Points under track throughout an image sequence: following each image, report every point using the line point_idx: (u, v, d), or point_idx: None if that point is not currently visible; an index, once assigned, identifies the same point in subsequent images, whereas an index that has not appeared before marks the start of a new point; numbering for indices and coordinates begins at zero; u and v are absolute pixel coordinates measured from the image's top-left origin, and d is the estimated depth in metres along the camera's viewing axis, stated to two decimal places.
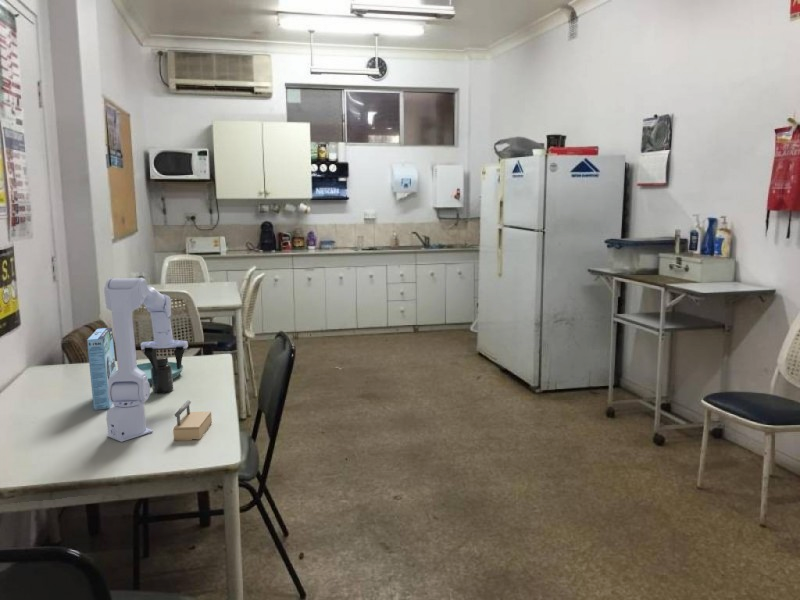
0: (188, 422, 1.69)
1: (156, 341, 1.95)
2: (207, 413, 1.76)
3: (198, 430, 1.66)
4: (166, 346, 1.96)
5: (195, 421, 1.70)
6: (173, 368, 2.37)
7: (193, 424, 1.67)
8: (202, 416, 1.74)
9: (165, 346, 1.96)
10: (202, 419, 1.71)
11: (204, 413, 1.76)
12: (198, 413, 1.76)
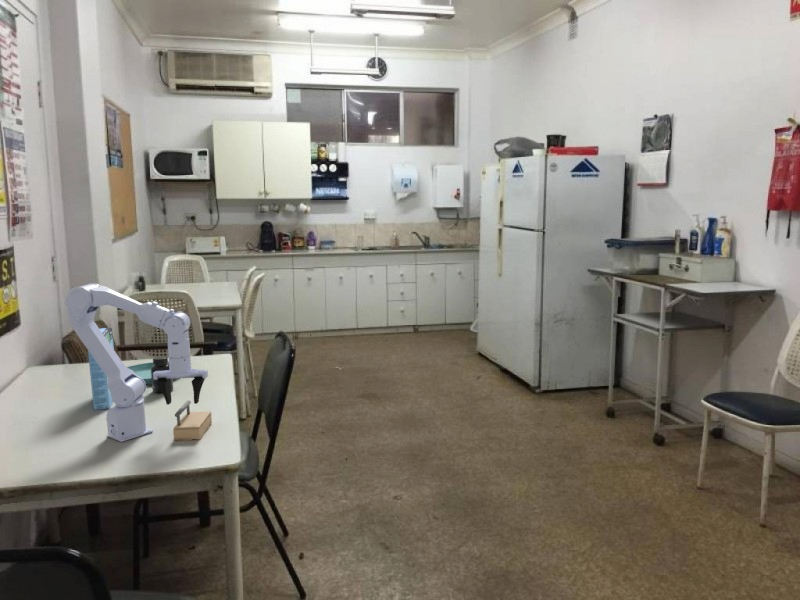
0: (188, 422, 1.69)
1: (172, 369, 1.67)
2: (207, 413, 1.76)
3: (198, 430, 1.66)
4: (183, 375, 1.67)
5: (195, 421, 1.70)
6: None
7: (193, 424, 1.67)
8: (202, 416, 1.74)
9: (182, 374, 1.67)
10: (202, 419, 1.71)
11: (204, 413, 1.76)
12: (198, 413, 1.76)
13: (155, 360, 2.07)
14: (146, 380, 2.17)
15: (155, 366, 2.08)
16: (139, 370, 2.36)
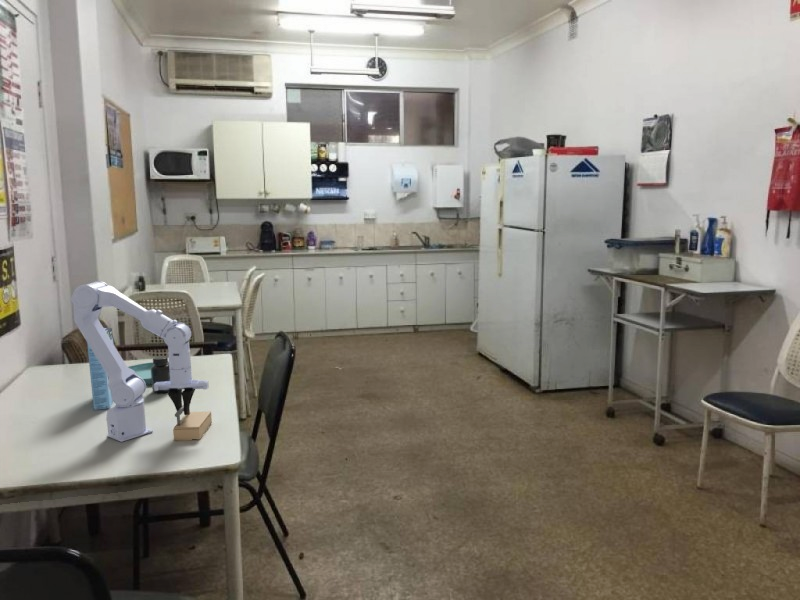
0: (188, 422, 1.69)
1: (172, 380, 1.67)
2: (207, 413, 1.76)
3: (198, 430, 1.66)
4: (184, 386, 1.67)
5: (195, 421, 1.70)
6: None
7: (193, 424, 1.67)
8: (202, 416, 1.74)
9: (182, 386, 1.67)
10: (202, 419, 1.71)
11: (204, 413, 1.76)
12: (198, 413, 1.76)
13: (155, 360, 2.07)
14: (146, 380, 2.17)
15: (155, 366, 2.08)
16: (139, 370, 2.36)
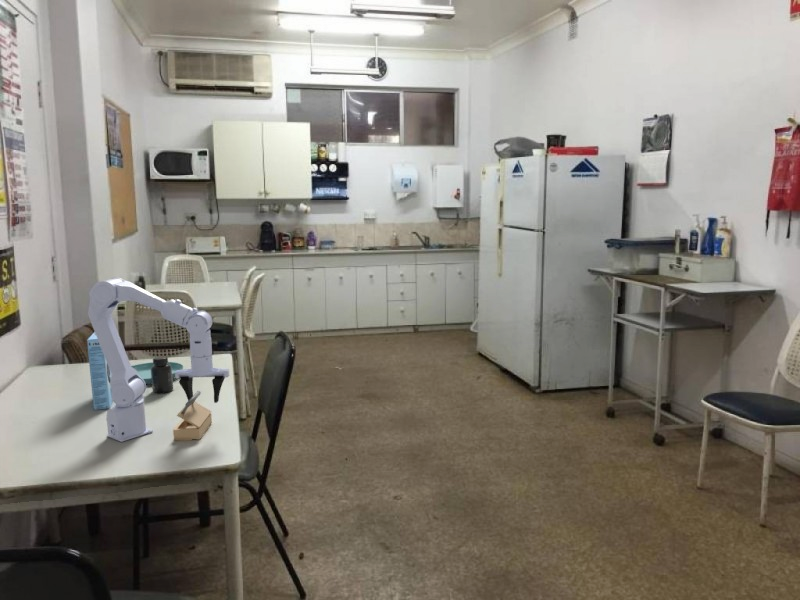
0: (190, 414, 1.69)
1: (194, 367, 1.67)
2: (208, 412, 1.76)
3: (198, 430, 1.66)
4: (205, 374, 1.67)
5: (197, 417, 1.70)
6: (173, 368, 2.37)
7: (195, 420, 1.67)
8: (203, 414, 1.74)
9: (204, 373, 1.67)
10: (203, 418, 1.71)
11: (205, 410, 1.76)
12: (200, 407, 1.76)
13: (155, 360, 2.07)
14: (146, 380, 2.17)
15: (155, 366, 2.08)
16: (139, 370, 2.36)
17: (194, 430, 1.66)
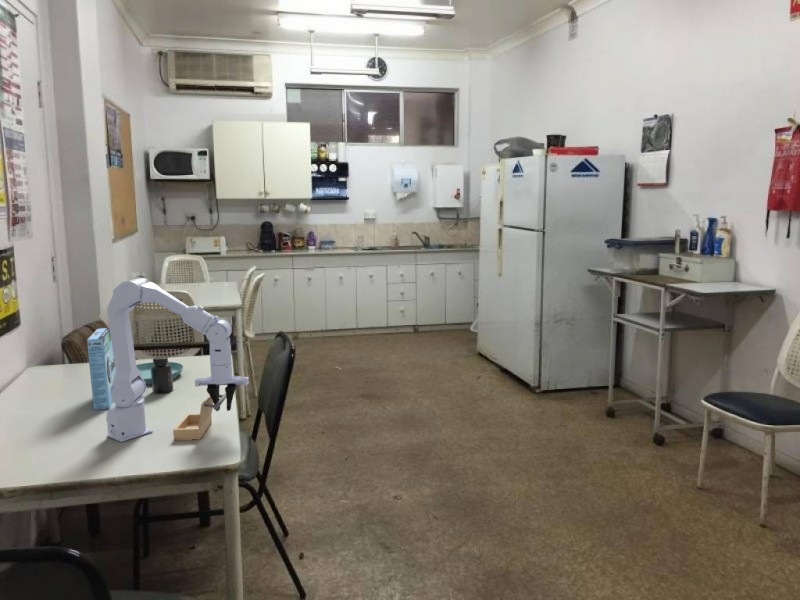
0: (205, 408, 1.69)
1: (214, 376, 1.68)
2: (210, 412, 1.76)
3: (198, 430, 1.66)
4: (225, 382, 1.68)
5: (205, 414, 1.70)
6: (173, 368, 2.37)
7: (203, 418, 1.67)
8: (208, 412, 1.74)
9: (224, 382, 1.68)
10: (206, 418, 1.71)
11: (211, 409, 1.76)
12: (212, 403, 1.76)
13: (155, 360, 2.07)
14: (146, 380, 2.17)
15: (155, 366, 2.08)
16: None
17: (194, 430, 1.66)
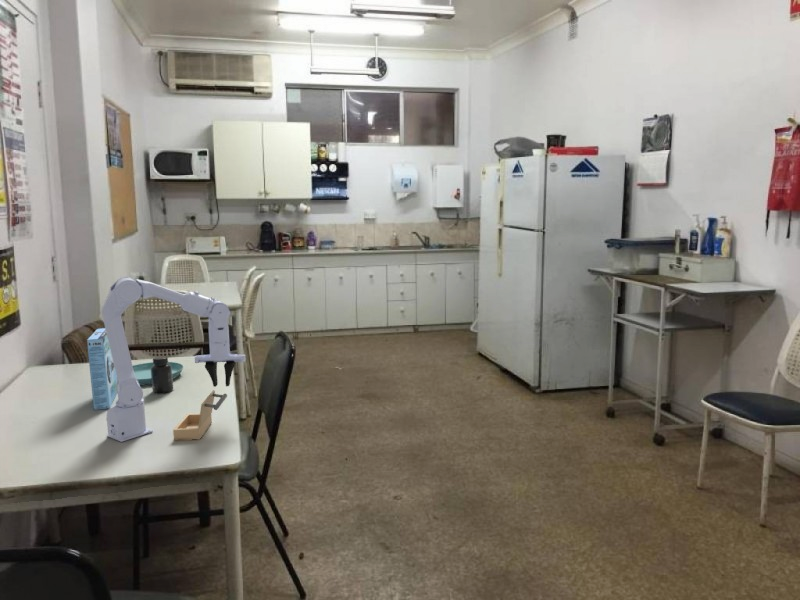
0: (206, 408, 1.69)
1: (212, 353, 1.78)
2: (210, 412, 1.76)
3: (198, 430, 1.66)
4: (223, 358, 1.78)
5: (205, 414, 1.70)
6: (173, 368, 2.37)
7: (203, 418, 1.67)
8: (208, 412, 1.74)
9: (222, 358, 1.78)
10: (206, 418, 1.71)
11: (211, 409, 1.76)
12: (212, 403, 1.76)
13: (155, 360, 2.07)
14: (146, 380, 2.17)
15: (155, 366, 2.08)
16: (139, 370, 2.36)
17: (194, 430, 1.66)
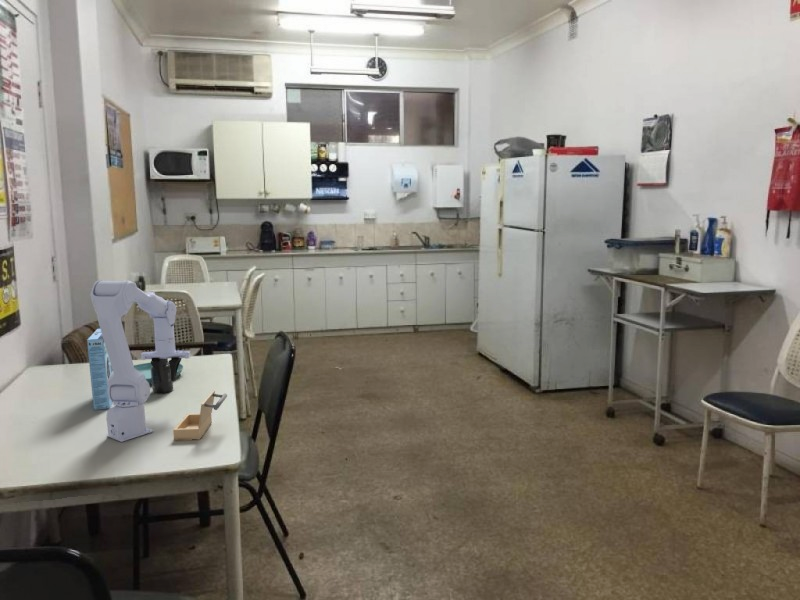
0: (206, 408, 1.69)
1: (157, 349, 1.86)
2: (210, 412, 1.76)
3: (198, 430, 1.66)
4: (168, 355, 1.86)
5: (205, 414, 1.70)
6: None
7: (203, 418, 1.67)
8: (208, 412, 1.74)
9: (166, 355, 1.86)
10: (206, 418, 1.71)
11: (211, 409, 1.76)
12: (212, 403, 1.76)
13: None
14: (146, 380, 2.17)
15: None
16: (139, 370, 2.36)
17: (194, 430, 1.66)
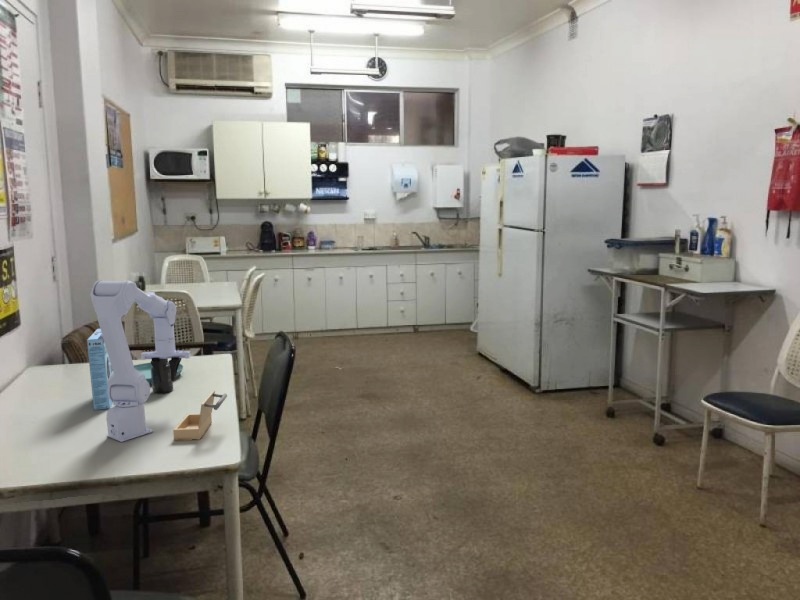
0: (206, 408, 1.69)
1: (157, 349, 1.86)
2: (210, 412, 1.76)
3: (198, 430, 1.66)
4: (168, 355, 1.86)
5: (205, 414, 1.70)
6: None
7: (203, 418, 1.67)
8: (208, 412, 1.74)
9: (166, 355, 1.86)
10: (206, 418, 1.71)
11: (211, 409, 1.76)
12: (212, 403, 1.76)
13: None
14: (146, 380, 2.17)
15: None
16: (139, 370, 2.36)
17: (194, 430, 1.66)
